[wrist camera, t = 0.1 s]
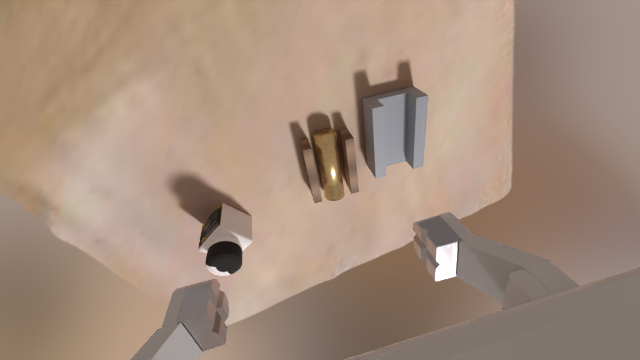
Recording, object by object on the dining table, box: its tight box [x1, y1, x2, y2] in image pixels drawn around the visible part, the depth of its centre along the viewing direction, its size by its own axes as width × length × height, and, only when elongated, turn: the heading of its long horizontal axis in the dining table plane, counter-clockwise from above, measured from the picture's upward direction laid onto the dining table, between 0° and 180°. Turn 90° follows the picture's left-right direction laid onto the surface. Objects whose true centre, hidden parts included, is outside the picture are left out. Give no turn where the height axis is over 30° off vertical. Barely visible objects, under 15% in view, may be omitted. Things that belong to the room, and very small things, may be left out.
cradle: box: [362, 86, 428, 178], centre depth 52 cm, size 14×10×5 cm
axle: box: [314, 128, 345, 201], centre depth 54 cm, size 14×4×4 cm, turn 9°
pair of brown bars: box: [300, 129, 359, 203], centre depth 54 cm, size 12×9×4 cm
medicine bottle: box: [198, 203, 252, 276], centre depth 54 cm, size 7×7×12 cm
